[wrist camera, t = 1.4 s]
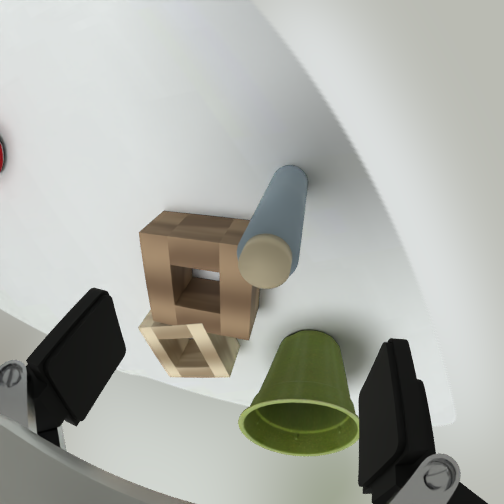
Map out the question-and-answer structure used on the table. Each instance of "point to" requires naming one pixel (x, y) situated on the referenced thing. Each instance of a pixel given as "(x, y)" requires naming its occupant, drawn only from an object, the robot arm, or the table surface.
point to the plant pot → (303, 400)
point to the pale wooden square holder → (190, 349)
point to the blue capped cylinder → (275, 231)
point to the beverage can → (1, 156)
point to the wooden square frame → (191, 288)
